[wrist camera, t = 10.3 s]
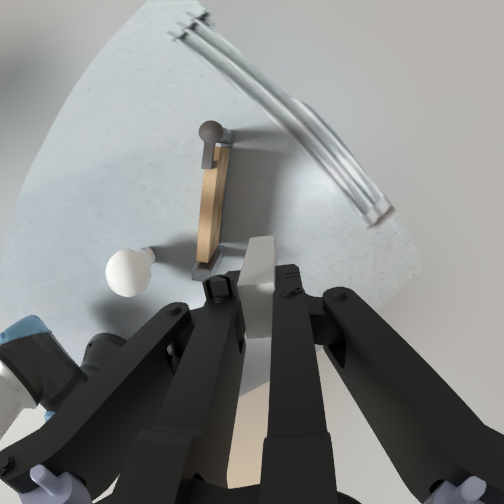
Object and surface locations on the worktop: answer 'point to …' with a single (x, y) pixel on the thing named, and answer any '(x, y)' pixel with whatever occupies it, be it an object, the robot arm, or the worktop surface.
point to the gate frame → (209, 269)
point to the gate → (211, 189)
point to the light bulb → (130, 271)
